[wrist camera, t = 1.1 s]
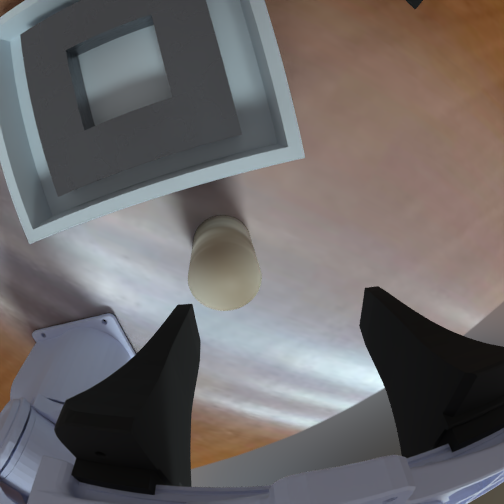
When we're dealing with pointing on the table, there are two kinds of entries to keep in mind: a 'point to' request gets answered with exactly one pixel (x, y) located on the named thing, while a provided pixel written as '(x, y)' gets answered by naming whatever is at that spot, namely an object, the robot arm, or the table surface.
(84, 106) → the plate
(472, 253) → the table surface
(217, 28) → the tray
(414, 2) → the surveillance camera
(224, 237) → the peg
